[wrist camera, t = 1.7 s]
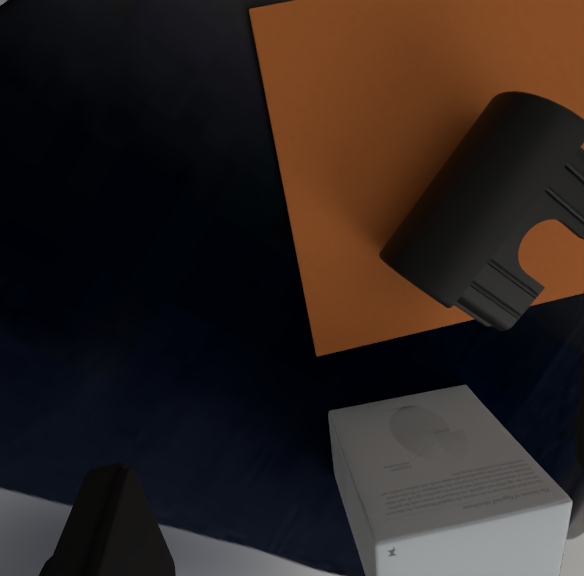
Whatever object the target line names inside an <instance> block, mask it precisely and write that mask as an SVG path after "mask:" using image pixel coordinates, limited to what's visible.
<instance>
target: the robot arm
mask: <svg viewBox="0 0 584 576" xmlns="http://www.w3.org/2000/svg"><path fill="white" fill-rule="evenodd" d="M6 1H8V0H0V5H2V4H3V3H5V2H6ZM575 455H576V458H577V461H578V463H579V464H580V466H581V467H582V469H583V470H584V353H583V355H582V357H581V367H580V383H579V398H578V414H577V429H576V444H575ZM39 576H175V565H174V561H173V559H172V556H171V554H170V551H169V549H168V547H167V544H166V542H165V540H164V537H163V535H162V533H161V530H160V528H159V526H158V523H157V521H156V519H155V516H154V514H153V512H152V509H151V507H150V505H149V502H148V500H147V498H146V495H145V493H144V491H143V488H142V486H141V484H140V481H139V479H138V477H137V474H136V472H135V470H134V469H133V468H127V469H126V468H125V467H124V465H123V464H122V463H115V464H111V465H107V466H103V467H99V468H95V469H91V470H90V471H88V472H87V474H86V476H85V478H84V481H83V483H82V485H81V488H80V490H79V493H78V495H77V498H76V500H75V503H74V505H73V507H72V510H71V512H70V515H69V517H68V520H67V522H66V525H65V527H64V529H63V532H62V534H61V537H60V539H59V542H58V544H57V547H56V549H55V551H54V554H53V556H52V557H51V558H50V559H49V560H48V561H47V562H46V563H45V565H44V566H43V568H42V570H41V572H40V574H39Z"/></svg>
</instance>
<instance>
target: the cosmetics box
mask: <svg viewBox="0 0 584 576" xmlns="http://www.w3.org/2000/svg"><path fill="white" fill-rule="evenodd" d="M328 418H329V428H330V438H331V448H332V457H333V466H334V474H335V478H336V481H337V484H338V488H339V491H340V494H341V498H342V501H343V504H344V507H345V510H346V514H347V517H348V520H349V524H350V527H351V530H352V533H353V536H354V539H355V543H356V546H357V549H358V552H359V555H360V559H361V562H362V565H363V569H364V572H365V575H366V576H559V575H560V571H561V567H562V560H563V555H564V549H565V544H566V538H567V532H568V526H569V520H570V514H571V508H572V500H571V499H570V497H569V496H568V495H567V494H566V493H565V492H564V491H563V490H562V489H561V488H560V487H559V485H558V484H557V483H556V482H555V481H554V480H553V479H552V478H551V477H550V476H549V475H548V474H547V473H546V472H545V471H544V470H543V469H542V468H541V467H540V466H539V465H538V463H537V462H536V461H535V460H534V459H533V458H532V457H531V456H530V455H529V454H528V453H527V452H526V451H525V449H524V448H523V447H522V446H521V445H520V444H519V443H518V442H517V441H516V440H515V439H514V438H513V436H512V435H511V434H510V433H509V432H508V431H507V430H506V429H505V428H504V427H503V426H502V425H501V423H500V422H499V421H498V420H497V419H496V418H495V417H494V416H493V415H492V414H491V412H490V411H489V410H488V409H487V408H486V407H485V406H484V405H483V404H482V403H481V401H480V400H479V399H478V398H477V397H476V396H475V395H474V393H473V392H472V391H471V390H470V389H469V387H468V386H467V385H461V386H455V387H450V388H444V389H439V390H434V391H429V392H424V393H418V394H413V395H408V396H403V397H397V398H392V399H387V400H382V401H377V402H371V403H367V404H362V405H356V406H352V407H346V408H341V409H336V410H331V411H329V413H328Z"/></svg>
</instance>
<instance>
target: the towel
mask: <svg viewBox="0 0 584 576" xmlns="http://www.w3.org/2000/svg"><path fill="white" fill-rule="evenodd" d="M249 15H250V20H251V25H252V30H253V35H254V40H255V45H256V50H257V55H258V61H259V66H260V71H261V76H262V81H263V86H264V91H265V96H266V102H267V107H268V112H269V117H270V122H271V127H272V132H273V137H274V142H275V148H276V153H277V158H278V163H279V168H280V173H281V178H282V183H283V189H284V194H285V199H286V204H287V209H288V214H289V219H290V224H291V229H292V235H293V240H294V245H295V250H296V255H297V260H298V265H299V270H300V276H301V281H302V286H303V291H304V296H305V301H306V306H307V311H308V316H309V322H310V327H311V332H312V337H313V342H314V347H315V352H316V356H322V355H326V354H330V353H334V352H338V351H343V350H347V349H351V348H355V347H359V346H364V345H368V344H372V343H376V342H380V341H385V340H389V339H393V338H397V337H401V336H406V335H410V334H414V333H418V332H422V331H426V330H431V329H435V328H439V327H443V326H447V325H452V324H456V323H460V322H464V321H468V320H473V319H474V318H473V317H471V316H470V315H468V314H467V313H465V312H464V311H462V310H461V309H459V308H458V307H456V306H455V305H453V306H452V307H451V308H446V307H445V306H443V305H442V304H440V303H439V302H437V301H436V300H434V299H433V298H432V297H430V296H429V295H427V294H426V293H424V292H423V291H422V290H420V289H419V288H417V287H416V286H415V285H413V284H412V283H410V282H409V281H408V280H406V279H405V278H404V277H402V276H401V275H400V274H398V273H397V272H396V271H394V270H393V269H392V268H391V267H389V266H388V265H387V264H386V263H384V262H383V261H382V260H381V259H380V257H379V253H380V251H381V250H382V249H383V247H384V246H385V245H386V243H387V242H388V240H389V239H390V238H391V236H392V235H393V234H394V232H395V231H396V229H397V228H398V227H399V225H400V224H401V223H402V221H403V220H404V219H405V217H406V216H407V214H408V213H409V212H410V210H411V209H412V208H413V206H414V205H415V203H416V202H417V201H418V199H419V198H420V197H421V195H422V194H423V193H424V191H425V190H426V188H427V187H428V186H429V184H430V183H431V182H432V180H433V179H434V177H435V176H436V175H437V173H438V172H439V171H440V169H441V168H442V167H443V165H444V164H445V162H446V161H447V160H448V158H449V157H450V156H451V154H452V153H453V151H454V150H455V149H456V147H457V146H458V145H459V143H460V142H461V140H462V139H463V138H464V136H465V135H466V134H467V132H468V131H469V130H470V128H471V127H472V125H473V124H474V123H475V121H476V120H477V119H478V117H479V116H480V114H481V113H482V112H483V110H484V109H485V108H486V106H487V105H488V104H489V102H490V101H491V99H492V98H493V97H495V96H496V95H497V94H499V93H503V92H507V91H519V92H526V93H530V94H534V95H538V96H541V97H544V98H547V99H549V100H552V101H554V102H556V103H558V104H560V105H562V106H564V107H566V108H567V109H569V110H571V111H573V112H574V113H576V114H577V115H578V116H580V117H581V118H583V119H584V0H294V1H288V2H283V3H278V4H273V5H267V6H262V7H257V8H251V9H249ZM581 147H582V148H583V149H584V143H583V144H582V145H581ZM518 259H519V263H520V266H521V268H522V269H523V270H524V271H525V272H526V273H527V274H528V275H529V276H531V277H532V278H533V279H535V280H536V281H537V282H539V283H540V284H541V285H543V286H544V287H545V288H544V290H543V291H542V292H541V293H540V294H539V296H538V297H537V298H536V299H535V300H534V301H533V303H532V304H531V305H536V304H540V303H544V302H548V301H552V300H557V299H561V298H565V297H569V296H573V295H578V294H582V293H584V239H581V238H578V237H577V236H576V235H575V234H574V233H572V232H571V231H570V230H569V229H568V228H567V227H565V226H564V225H563V224H562V223H561V222H559V221H557V220H554V219H552V220H546V221H543V222H540V223H538V224H537V225H535V226H534V227H532V228H531V229H530V230H529V231H528V232H527V233H526V235H525V236H524V238H523V239H522V242H521V244H520V247H519V252H518ZM531 305H530V306H531Z"/></svg>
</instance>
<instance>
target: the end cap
mask: <svg viewBox="0 0 584 576" xmlns="http://www.w3.org/2000/svg"><path fill="white" fill-rule="evenodd" d="M583 143H584V119H583V118H581V117H580V116H578V115H577V114H576V113H574V112H573V111H571V110H569V109H567V108H566V107H564V106H562V105H560V104H558V103H556V102H554V101H552V100H549V99H547V98H544V97H541V96H538V95H534V94H530V93H526V92H519V91H507V92H503V93H499V94H497V95H496V96H495V97H493V98H492V99H491V101H490V102H489V104H488V105H487V106H486V108H485V109H484V110H483V112H482V113H481V114H480V116H479V117H478V119H477V120H476V121H475V123H474V124H473V125H472V127H471V128H470V130H469V131H468V132H467V134H466V135H465V136H464V138H463V139H462V140H461V142H460V143H459V145H458V146H457V147H456V149H455V150H454V151H453V153H452V154H451V156H450V157H449V158H448V160H447V161H446V162H445V164H444V165H443V167H442V168H441V169H440V171H439V172H438V173H437V175H436V176H435V177H434V179H433V180H432V182H431V183H430V184H429V186H428V187H427V188H426V190H425V191H424V193H423V194H422V195H421V197H420V198H419V199H418V201H417V202H416V203H415V205H414V206H413V208H412V209H411V210H410V212H409V213H408V214H407V216H406V217H405V219H404V220H403V221H402V223H401V224H400V225H399V227H398V228H397V229H396V231H395V232H394V234H393V235H392V236H391V238H390V239H389V240H388V242H387V243H386V245H385V246H384V247H383V249H382V250H381V251H380V253H379V257H380V259H381V260H382V261H383V262H384V263H386V264H387V265H388V266H389V267H391V268H392V269H393V270H394V271H396V272H397V273H398V274H400V275H401V276H402V277H404V278H405V279H406V280H408V281H409V282H410V283H412V284H413V285H415V286H416V287H417V288H419V289H420V290H422V291H423V292H424V293H426V294H427V295H429V296H430V297H432V298H433V299H434V300H436V301H437V302H439V303H440V304H442V305H443V306H445V307H446V308H451V307H452V306H453V305H455V306H456V307H458V308H459V309H461V310H462V311H464V312H465V313H467V314H468V315H470V316H471V317H473V318H474V319H476V320H477V321H479V322H480V323H481V324H483V325H484V326H487V327H488V326H493V327H495V328H496V329H498V330H500V331H505V330H508V329H510V328H511V327H512V326H513V325H514V324H515V323H516V322H517V320H518V319H519V318H520V317H521V316H522V314H523V313H524V312H525V311H526V310H527V309H528V307H529V306H530V305H531V304H532V303H533V301H534V300H535V299H536V298H537V297H538V296H539V294H540V293H541V292H542V291H543V290H544V288H545V287H544V286H543V285H541V284H540V283H539V282H537V281H536V280H535V279H533V278H532V277H531V276H529V275H528V274H527V273H526V272H525V271H524V270H523V269H522V268H521V266H520V263H519V259H518V252H519V247H520V244H521V242H522V239H523V238H524V236H525V235H526V233H527V232H528V231H529V230H530V229H531V228H532V227H534V226H535V225H537V224H538V223H540V222H543V221H546V220H552V219H554V220H557V221H559V222H561V223H562V224H563V225H564V226H565V227H567V228H568V229H569V230H570V231H571V232H572V233H574V234H575V235H576V236H577V237H578V238H581V239H584V149H583V148H582V147H581V145H582V144H583Z"/></svg>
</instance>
